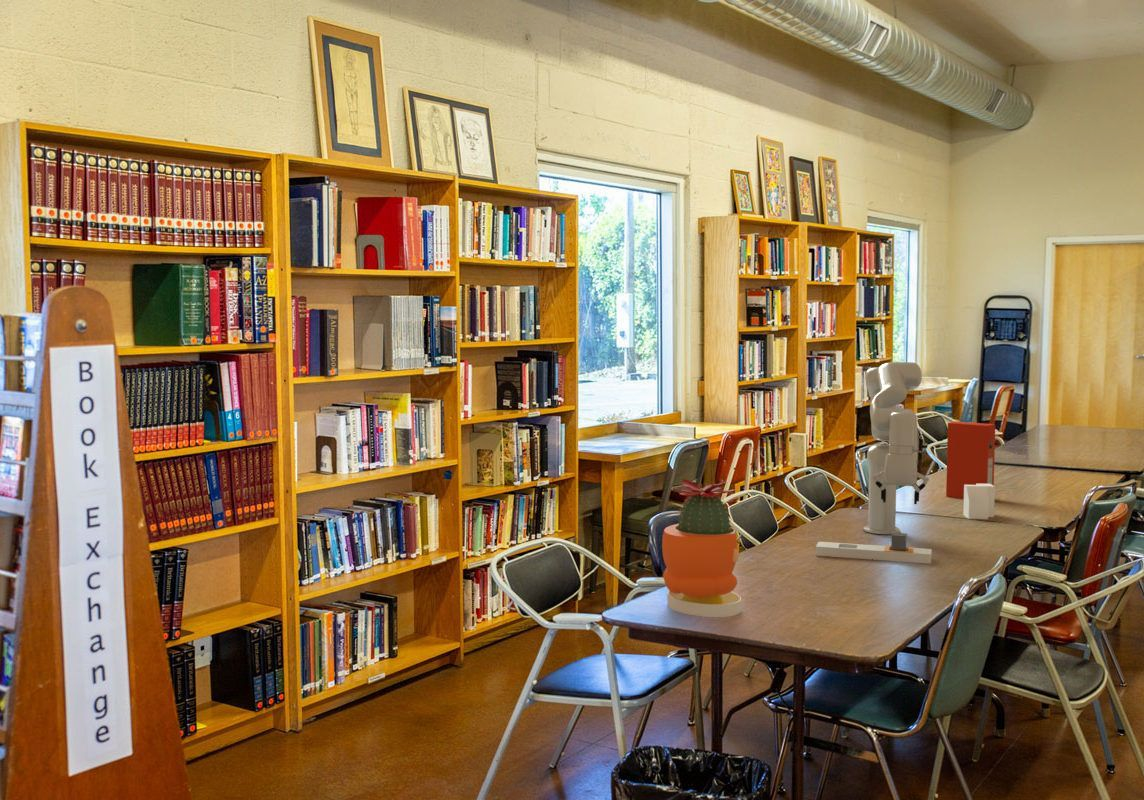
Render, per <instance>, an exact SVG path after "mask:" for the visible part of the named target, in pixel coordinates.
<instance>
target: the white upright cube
mask: <svg viewBox="0 0 1144 800" xmlns="http://www.w3.org/2000/svg"><path fill="white" fill-rule="evenodd" d="M995 493H996V486H995V485H994V486H993V485H992V484H977V483H976V485H964V499H963V513H962V514H963V516H964V517H966V519H968V520H989V518H994V517H995Z"/></svg>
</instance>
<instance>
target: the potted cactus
mask: <svg viewBox="0 0 1144 800" xmlns="http://www.w3.org/2000/svg"><path fill="white" fill-rule="evenodd" d="M707 484H708V485H707ZM681 485H682V486H683V487H678V488H677V491H681V493H680V492H679V493H678V495H681V496H683V497H687V498H686V500H684V502H683V503H680V504H681V506H680V507H681V509H679V510H678V511H680V512H679V513H678V512H677V516H679V517H678V518H677V519H676V521H678V523H675V524H670V525H669V526H667V527H665V528H664V529H663V534H662V542H661V548H662V549H661V550H662V557H663V562H664V564H665V567H666V568H665V570H664V572H662V573H663V576H662V577H663V581H664V583H665V586H666V588H667V589H668V590H667V593H666V594H667V597H666V598H667V602H666V603H667V607H668V608H669V609H671V610H672V611H675V612H678V613H682V614H685V615H690V616H695V617H706V618H727V617H733V616H737V615H739V614H741V612H742V597H741V596H740V595H739V594H737V593H736V592H733V590H735V588H736V587H737V585H738V580H737V577H736V576H735V575H734V574H733V571H734V568H735V567H736V563H737V562H738V561H739V558H740V554H739V550H738V539H737V532H736V529H735V528H734V527H733V526H730V525H731V522H733V520H730V516H732V514H731V513H730V514H729V512H730V508H729V509H728V505H727V504H725V500H724V499H723V500H722V496H718V495H717V494H727V493H731V492H734V491H735V489H727V490H721V489H722V488H721V487H723V486H725V485H727V481H724V482H720V483H717V484H712V483H710V484H709V482H706V483H705V485H704V486H702V485H703V484H702V483H700V484H697V483H695V482H693V481H691V480H689V479H688V480H687V479H681ZM727 509H728V510H727Z"/></svg>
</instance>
